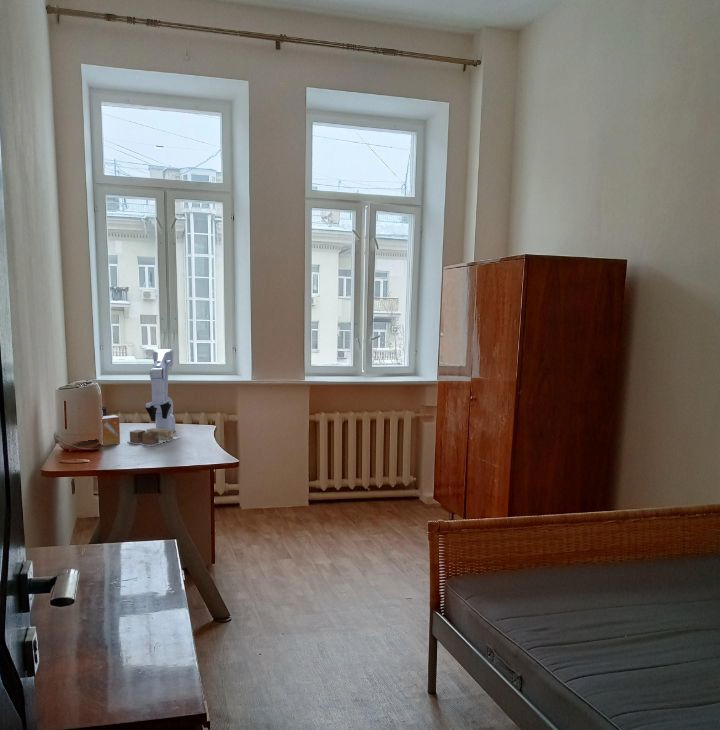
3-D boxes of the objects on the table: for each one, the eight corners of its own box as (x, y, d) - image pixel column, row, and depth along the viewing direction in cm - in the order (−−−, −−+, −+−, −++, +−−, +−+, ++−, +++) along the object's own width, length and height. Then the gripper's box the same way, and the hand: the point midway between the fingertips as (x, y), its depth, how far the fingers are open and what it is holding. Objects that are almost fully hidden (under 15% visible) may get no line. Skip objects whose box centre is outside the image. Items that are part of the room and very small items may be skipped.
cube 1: (138, 439, 274) (137, 429, 273) (145, 440, 272) (145, 430, 271) (130, 441, 269) (129, 431, 269) (137, 442, 267) (137, 432, 266)
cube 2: (150, 441, 270) (150, 431, 270) (158, 442, 268) (158, 431, 268) (142, 443, 266) (142, 433, 265) (150, 444, 264) (150, 434, 263)
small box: (102, 446, 262) (101, 418, 261) (98, 444, 267) (96, 416, 265) (120, 443, 268) (119, 416, 266) (115, 441, 272) (114, 414, 271)
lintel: (152, 435, 282) (152, 427, 282) (172, 438, 277) (172, 430, 276) (146, 437, 279) (146, 429, 278) (167, 439, 273) (166, 431, 273)
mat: (154, 435, 286) (154, 434, 286) (179, 438, 279) (179, 437, 279) (127, 442, 269) (126, 441, 269) (152, 446, 263) (152, 445, 263)
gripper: (153, 394, 267) (154, 423, 269) (175, 391, 280) (175, 417, 282) (142, 394, 270) (143, 422, 272) (164, 390, 283) (165, 416, 285)
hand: (159, 419), depth 277 cm, fingers open, 7 cm apart
